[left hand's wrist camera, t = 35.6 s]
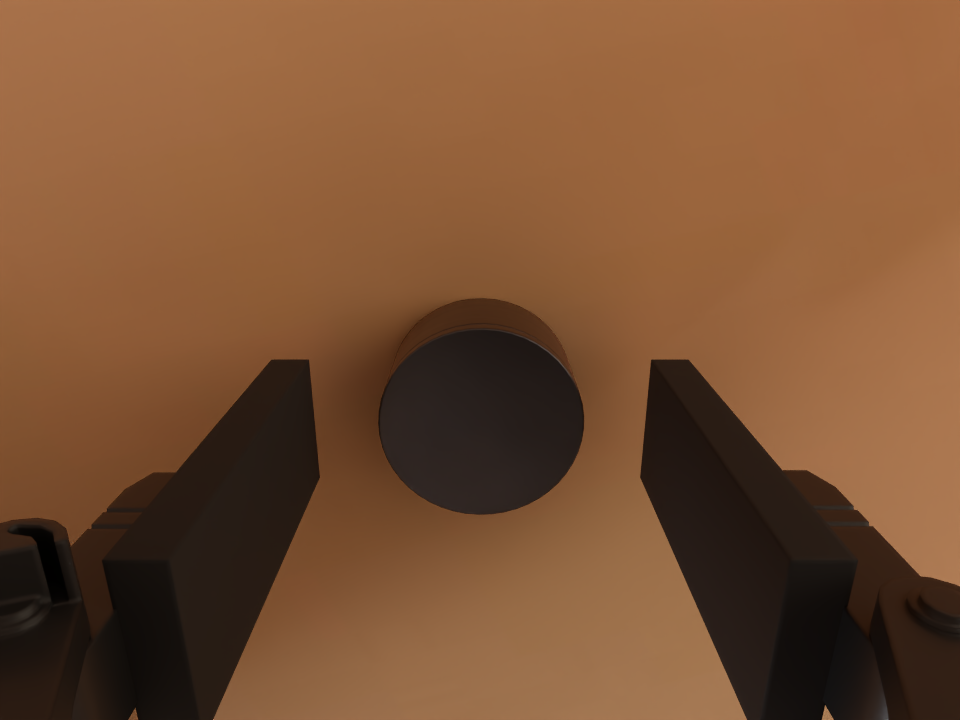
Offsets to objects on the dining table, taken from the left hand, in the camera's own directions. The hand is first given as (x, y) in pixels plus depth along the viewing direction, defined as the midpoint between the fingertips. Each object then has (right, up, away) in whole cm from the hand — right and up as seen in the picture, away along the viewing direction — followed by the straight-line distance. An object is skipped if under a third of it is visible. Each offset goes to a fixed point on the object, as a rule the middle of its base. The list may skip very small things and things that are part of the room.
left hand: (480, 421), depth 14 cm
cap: (0, 0, 0) cm, 0 cm away
